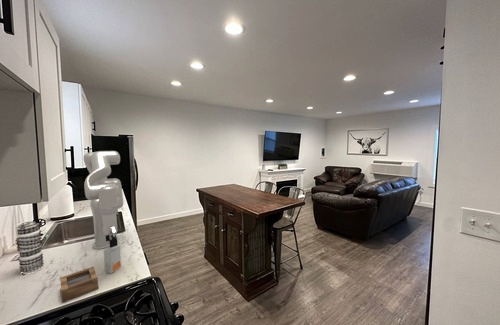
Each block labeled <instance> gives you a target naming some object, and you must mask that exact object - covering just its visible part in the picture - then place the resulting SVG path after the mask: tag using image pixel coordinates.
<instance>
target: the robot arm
mask: <svg viewBox="0 0 500 325" xmlns="http://www.w3.org/2000/svg"><path fill="white" fill-rule="evenodd" d="M83 162H84V165H85V167H86V168H87V171H88V173H89V174H88V175H87V177H86V178H85V179H84V180H85V181H84V182H83V183H84V184H83V185H84V195H85V198H86V199H87V200H88V201H90V203H89V204H90V208H91V214H92V221H93V231H94V232H93V234H94V243H92V245H91V248H92V249H94V250H104V249H107V248H108V247H110V248H111V247H115V246H117V245H119V244H118V242H119V241H118V236H117V233H118V220H117V214H118V213H119V209H121V208H122V207H123V206H124V197H123V188H122V182H121V180H120V179H118V178H115V177H114V178H108V176H110V175H111V174H112V168H111V166H113V165H119V164H120V163H121V155H120V153H119V152H118V151H116V150H99V151H94V152H93V151H91V152H86V153H85V154H84V155H83Z"/></svg>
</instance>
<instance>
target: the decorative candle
mask: <svg viewBox="0 0 500 325" xmlns="http://www.w3.org/2000/svg"><path fill="white" fill-rule="evenodd" d="M39 225H40V223H38V222H36V221H25V222H22V223H20V224H19V225H17V227H16V228H15V229H16V230H17V231H16V233H17V234H16V237H17V238H16V239H15V241H16V243H15V244H16V248H17V249H16V250H17V252H18V253H19V260H18V262H19V263H18V265H19V271H20V273H21V272H23V274H26V275H29V274H28V273H31V274H33V273H32V272H34V273H36V272H35V271H37V272H39V271H41V270H42V269H43V268H44V267H45V265H44V264H45V263H44V256H43V255H44V254H43V251H42V246H43V244H42V241H43V240H42V238H43V237H41V236H42V235H43V234H42V230H40V226H39ZM40 269H41V270H40ZM38 270H39V271H38Z"/></svg>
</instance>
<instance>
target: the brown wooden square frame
mask: <svg viewBox="0 0 500 325" xmlns="http://www.w3.org/2000/svg"><path fill="white" fill-rule="evenodd" d="M59 280H60V290H61V301H62V304H63V303H66V302H69V301H71V300H74V299H76V298H79V297H81V296H84V295H86V294H89V293H91V292H94V291H96V290H98V289H99V278H98V275H97V273H96V270H95V267H94V266H91V267H88V268H85V269H80V271H76V272H73V273H70V274H67V275H64V276H62V277H60V279H59Z"/></svg>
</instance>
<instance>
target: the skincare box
mask: <svg viewBox="0 0 500 325" xmlns="http://www.w3.org/2000/svg"><path fill="white" fill-rule="evenodd" d="M103 260H104V261H103V262H104V273H106V274H107V273H108V274H113V273H115V271H117V270H118V269H120V268H121V267H122V263H121V262H122V259H121V245H120V244H118V245H117V246H115V247H111V248H110V247H107V248H104V249H103Z"/></svg>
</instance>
